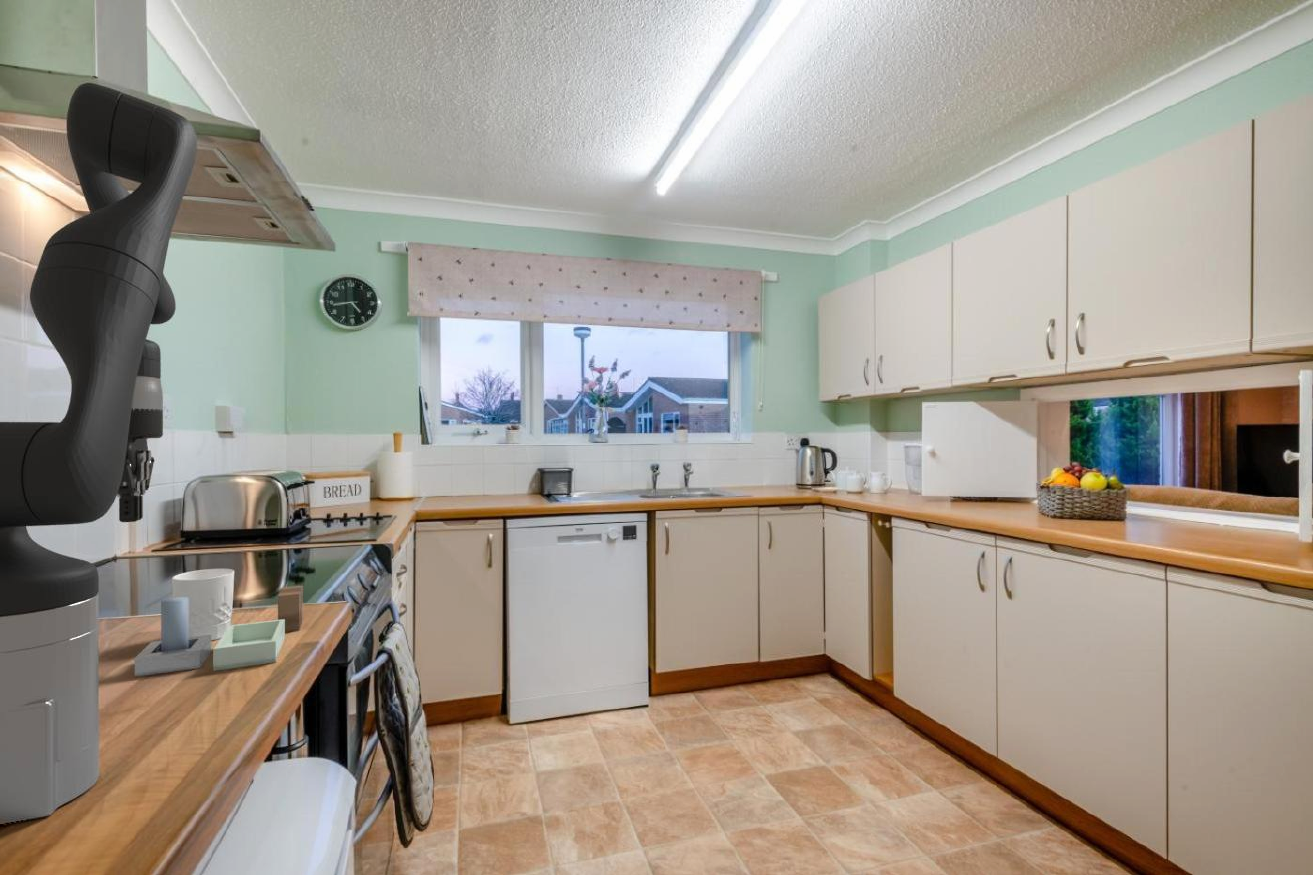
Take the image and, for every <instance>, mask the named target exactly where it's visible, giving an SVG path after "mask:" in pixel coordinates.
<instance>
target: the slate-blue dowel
mask: <svg viewBox="0 0 1313 875" xmlns="http://www.w3.org/2000/svg"><path fill="white" fill-rule="evenodd" d="M160 611H161V612H160V626H161V627H160V628H161V629H160V630H161V632H160V636H161V637H160V638H161V639H160V641H161V652H166V651H174V650H182V649H189V598H188V597H174V598H173V597H170V598H165V599H163V600H161V601H160Z"/></svg>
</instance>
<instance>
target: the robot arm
mask: <svg viewBox="0 0 1313 875" xmlns="http://www.w3.org/2000/svg"><path fill="white" fill-rule="evenodd" d="M66 138H67V143H68V144H67V145H68V148H69V154H70V157H71V160H72V164H73V166H74V169H75V173H76V176H77V178H78V182H79V186H80V189H81V191H82V195H83V197H84V199H85V202H86V205H87V208H88V210H89V213H87V214H85V215H83V216H81V217H79V218H77V219H75V220H73V221H71V222H68V223H67V224H66V225H64V226H63V227H61V228H59V229H58V230H57V231H56V232H54V234H53V235H51V237H50V238H49V239H48V240H47V243H46V244H45V246H44V249H43V252H42V254H41V256H40V260H39V262H38V265H37V268H36V271H35V273H34V276H33V279H32V282H31V286H30V291H29V302H30V304H31V305H30V306H31V308H32V311H33V314H34V316H35V318H36V320H37V322H38V324H39V326H40V328H41V329H42V330H43V332H44V334H45V335H46V337H47V338H48V340H49V341H50V343H51V345H52V346H53V347H54V349H55V351H56V352H57V354H58V355H59V356H60V358H61V360H62V362H63V364H64V365H65V367H66V370H67V372H68V375H69V376H70V380H71V381H70V382H71V383H70V384H71V387H70V388H71V391H70V392H71V393H70V397H69V398H70V399H69V404H68V408H67V412H66V413H65V416H64V418H63V419H61V421H59V422H55V421H45V422H44V421H0V822H2V823H5V822H6V823H7V822H9V824H11V823H10V822H14V821H15V822H14V823H17V822H16V821H18V820H20V821H19V822H22V821H21V820H23V821H28V820H32V819H38V818H42V817H47V816H50V815H51V814H52V815H53V813H54V812H55V811H56V810H57V809H58V808H59V807H61V806H62V805H64V804H66V803H68V802H70V801H72V800H74V799H76V798H77V797H79V796H80V795H82V794H84V793H85V792H87V791H88V790H89V789H90V788H92V787H93V786H94V785H95V783H96V782H97V781H98V780H99V776H100V725H99V724H100V722H99V721H100V717H99V716H100V714H99V711H100V709H99V708H100V707H99V706H100V705H99V704H100V703H99V700H100V698H99V696H100V694H99V693H100V692H99V689H100V688H99V685H100V684H99V675H100V674H99V587H100V586H99V584H100V583H99V582H100V581H99V580H100V579H99V571H98V568H97V566H96V565H94V564H93V563H92V562H90V561H87V560H84V559H80V558H77V557H73V556H68V555H65V554H61V553H58V552H55V551H52V550H51V549H48V548H46V547H44V546H43V545H40V544H39V543H38V542H36V541H34V540H33V539H32V537H31V536H30V534H29V533H28V531H29V530H28V529H27V527H42V526H43V527H44V526H45V527H46V526H47V527H48V526H65V525H67V526H68V525H81V524H87V523H88V524H89V523H93V522H95V521H98V520H100V519H101V518H103V517H104V516H105V515H106V514H107V513H108V512H109V510H110V509H111V507H112V506H113V504H114V503H115V501H116V498H118V505H119V506H118V513H119V514H118V518H119V519H118V520H119V522H120V523H135V522H138V521H141V520H142V519H143V518H144V514H143V513H144V512H143V511H144V510H143V509H144V507H143V506H144V496H145V495H146V492H147V491H148V490H149V488H150V485H151V484H150V483H151V479H152V474H153V470H154V469H153V468H154V463H155V458H154V457H153V456H152V451H151V450H149V447H148V441H147V440H148V439H160V438H162V437H163V435H164V413H163V412H164V392H163V388H162V387H163V386H162V379H161V378H162V377H161V372H162V370H161V369H162V368H161V367H162V364H161V363H162V362H161V360H162V359H161V357H162V356H161V347H160V345H159V344H158V343H156V342H155V341H153V340H150V339H147V337H148V333H149V329H150V327H151V325H162V324H165V323H167V322H169V321H170V320H171V319H172V318H173V317H174V315H175V312H176V308H177V306H176V299H175V294H174V292H173V290H172V287H171V285H170V284H169V282H168V280H167V278H166V276H165V274H164V269H165V263H166V260H167V259H166V258H167V252H168V249H169V242H170V239H171V235H172V231H173V227H174V224H175V221H176V218H177V214H178V212H179V210H180V207H181V204H182V201H183V199H184V195H185V193H186V190H187V187H188V183H189V182H190V179H191V176H192V172H193V168H194V166H195V161H196V157H197V148H198V142H197V141H198V139H197V134H196V130H195V128H194V126H193V124H192V123H191V122H190V121H189V119H188V118H186V117H184V116H183V115H181V114H179V113H177V112H175V111H173V110H172V109H169V108H167V107H163V106H161V105H157V104H155V103H152V102H149V101H146V100H144V99H141V98H139V97H136V96H133V95H131V94H127V93H124V92H122V91H119V90H117V89H113V88H111V87H107V86H105V85H102V84H97V83H94V82H84V83H82V84H80V85H78V87H76V88H75V89H74V91H73V94H72V95H71V97H70V101H69V105H68V109H67V114H66ZM120 178H123V179H125V180H129V181H133V182H136V183H139V185H138V187H137V188H135V190H133V191H132V192H131V193H130V192H129V191H128V190H127V188H126V186H125V185H124V184H123V183H122V181H121V180H120ZM27 819H28V820H27Z"/></svg>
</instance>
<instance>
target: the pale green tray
mask: <svg viewBox="0 0 1313 875" xmlns="http://www.w3.org/2000/svg"><path fill="white" fill-rule="evenodd" d="M285 639H286V632H285V619H282V620H278V619H275V620H266V621H265V620H264V621H257V622H246V623H238V624H231V625H230V626H229V627H228V629H227V630H226V631H225V633H224V634H223V636H222V637H221V638H219V639H218V642H216V644H215V646H214V647H213V649H212V651H213V653H212V655H213V656H212V657H213V658H212V659H213V660H212V661H213V662H212V663H213V665H212V667H213V668H212V671H213V672H216V671H217V672H218V671H223V670H224V671H225V670H230V669H231V670H232V669H238V668H246V667H252V666H259V665H265V664H273V663H277V660H278V658H279V654H280V652H281V649H282V647H283V644H284V642H285Z"/></svg>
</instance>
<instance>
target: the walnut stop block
mask: <svg viewBox="0 0 1313 875" xmlns="http://www.w3.org/2000/svg"><path fill="white" fill-rule="evenodd" d="M303 589H304V588H303V585H292V586H282V587H281V589H280V591H279V593H278V595H277V620H282V619H285V633H288V632H294V631H301V630H300V629H301V627H302V624H303V621H304V612H303V611H304V610H303V608H304V606H303V605H304V604H303V602H304V601H303V600H304V598H303V597H304V596H303V591H304V590H303ZM302 620H303V621H302Z"/></svg>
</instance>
